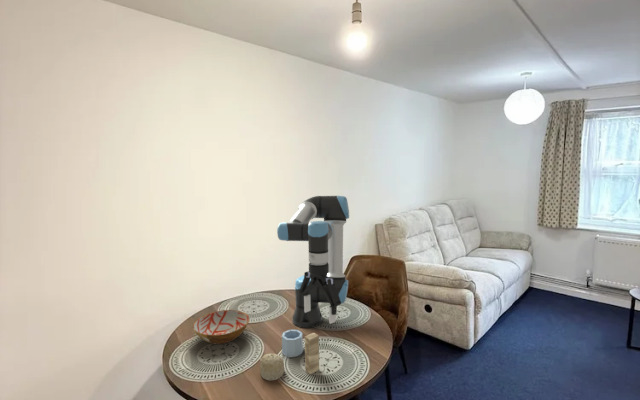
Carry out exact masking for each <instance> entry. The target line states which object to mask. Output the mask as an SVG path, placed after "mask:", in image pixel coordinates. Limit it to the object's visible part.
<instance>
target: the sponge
mask: <svg viewBox="0 0 640 400" xmlns="http://www.w3.org/2000/svg"><path fill="white" fill-rule="evenodd" d="M259 364H260V366H259V369H260V376H261V378H262V379H264V380H266V381H268V382H269V381H270V382H271V381H277V380H279V379H280V378H282V377H283V375H284V374H285V363H284V359H283V358H282V356H281V355H279V354H276V353H265V354H263V356H262V357H261V359H260V363H259Z"/></svg>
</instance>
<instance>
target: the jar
mask: <svg viewBox="0 0 640 400" xmlns="http://www.w3.org/2000/svg"><path fill="white" fill-rule="evenodd" d="M303 338H304V337H303V332H302V331H300V330H299V329H288V330H286V331H283V332H282V335H281V352H282V355H283V356H284V357H287V358H297V357H299V356H301V355H302V354H303V352H304V344H303V343H304V339H303Z"/></svg>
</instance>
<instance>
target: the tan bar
mask: <svg viewBox="0 0 640 400" xmlns="http://www.w3.org/2000/svg"><path fill="white" fill-rule="evenodd" d="M319 337H320V336H319V335H318V334H317V333H315V332H312V333H309V334H308V335H305V336H304V369H305V372H306V373H307V374H308V375H312V374H314V373H316V372H318V371H319V370H320V342H319V341H320V339H319Z"/></svg>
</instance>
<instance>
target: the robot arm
mask: <svg viewBox="0 0 640 400" xmlns="http://www.w3.org/2000/svg"><path fill="white" fill-rule="evenodd" d="M297 209H298V210H297V211H296V212H295V213H294V215H293V216H292V217H291V219H289V221H288V222H287V221H285V222H279V224H278V226H277V228H276V229H277V231H276V232H277V234H276V235H277V238H278V240H280V241H286V242H308V262H309V263H308V271H304V274H303V275H301V276H299V277H297V278H296V280H295V283H294V284H295V286H294V289H295V291H294V292H295V293H294V294H295V309H294V313H293V315H292V323H293V325H294V326H297V327H299V328H305V329H306V328H313V327H317V326H319V325H320V324H322V322H323V314H322V311H321V309H320V306H319V303H322V304H323V303H324V304H329V306H328V319H329V320H328V323H329V324H333V323H335V322H336V317H337V316H336V315H337V314H338V311H337V307H338V306H340V305H341V304H344V303H345V302H346V300H347V296H348V295H347V294H348V290H349V280H348V279H346V277H347V276H346V275H345V274H344V273H343V272H344V271H343V270H344V269H343V265H344V264H343V263H344V261H343V257H344V255H343V254H344V225H346V223H347V219H349V218H350V209H349V202H348V198H347V197H346V196H343V195H315V196H312V197H309V198H307V199H306V200H304V201H302V202H301V203H300V205H299V206H298V208H297ZM313 219H323V221H322V220H316V221H312V220H313Z"/></svg>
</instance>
